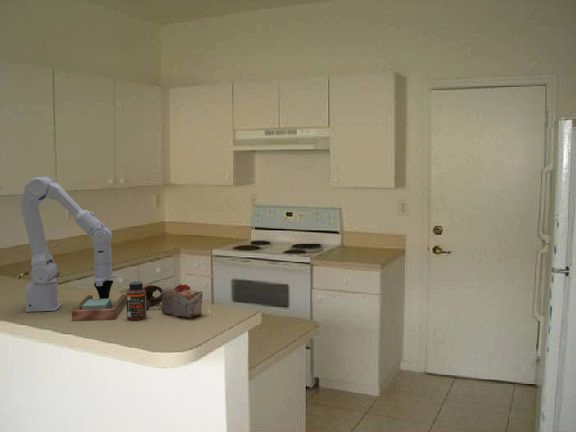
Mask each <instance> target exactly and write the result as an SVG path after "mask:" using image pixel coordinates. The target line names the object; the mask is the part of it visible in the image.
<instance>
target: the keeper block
mask: <svg viewBox="0 0 576 432" xmlns="http://www.w3.org/2000/svg"><path fill="white" fill-rule="evenodd" d="M111 308H112V298H111V297H109V299H100V298H93V299H89V300H88V301H87V302H86V303H85V304H84V305H83V306H82V310H91V309H111Z"/></svg>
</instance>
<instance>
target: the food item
mask: <svg viewBox="0 0 576 432" xmlns="http://www.w3.org/2000/svg"><path fill="white" fill-rule="evenodd" d="M161 292H162V302H161V313H162V314H163V315H164V314H165V315H166V314H167V315H171V316H173V317H174V318H179V316H181V317H182V318H185V317H187V318H186V319H191V317H192V318H195V317H194V316H196V317H199V316H202V315H203V314H202V308H203V291H201V290H195V289H191V286H190V285H188V284H182V283H180V284H179V285H177V286H169V287H165V288H163V289H162V291H161ZM198 315H199V316H198Z"/></svg>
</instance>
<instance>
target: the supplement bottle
mask: <svg viewBox="0 0 576 432" xmlns="http://www.w3.org/2000/svg"><path fill="white" fill-rule="evenodd" d="M143 283H144V282H142V281H131V282H129V285H128V286H129V288H128V289H127V290H126V293H125V294H126V297H127V303H126V319H128V320H131V321H140V320H143V319H146V318H147V310H146V290H145V289H143V287H144V286H143Z"/></svg>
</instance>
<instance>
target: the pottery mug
mask: <svg viewBox="0 0 576 432" xmlns="http://www.w3.org/2000/svg"><path fill="white" fill-rule="evenodd" d="M143 289H145V290H146V311H148V310H149V309H150V308H153V307H155V306H157V305H160V304H162V292H161V291H162V290H163V289H162V288H161V287H160V286H158V285H154V284H148V285H145V286H143ZM157 291H158V292H159V293H160V295H158V296H154V293H155V292H157Z"/></svg>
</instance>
